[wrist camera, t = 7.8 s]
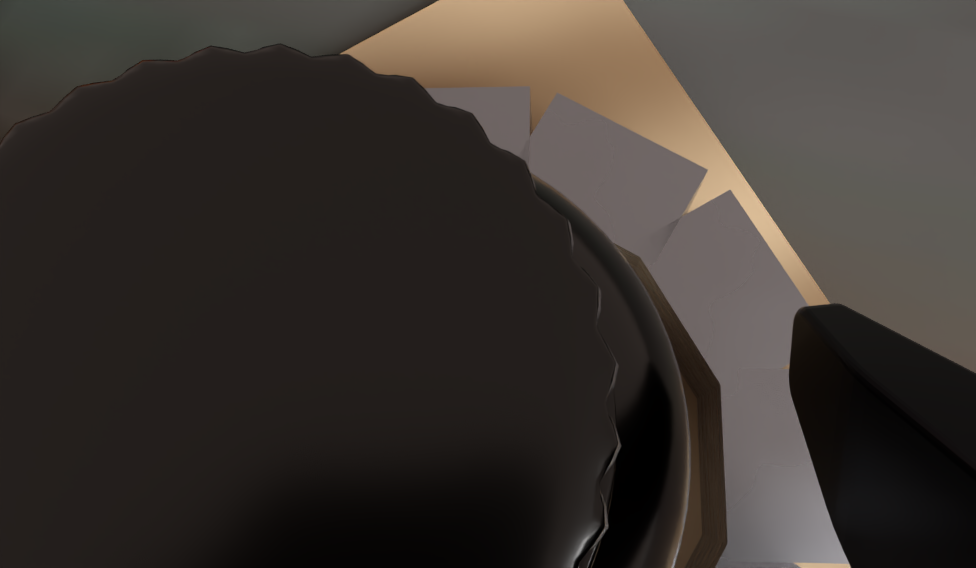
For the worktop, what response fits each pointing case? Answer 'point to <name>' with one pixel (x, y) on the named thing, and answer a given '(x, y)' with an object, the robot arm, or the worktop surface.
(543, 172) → the steel ring
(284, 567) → the supplement bottle
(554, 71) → the oak board
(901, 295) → the worktop surface
